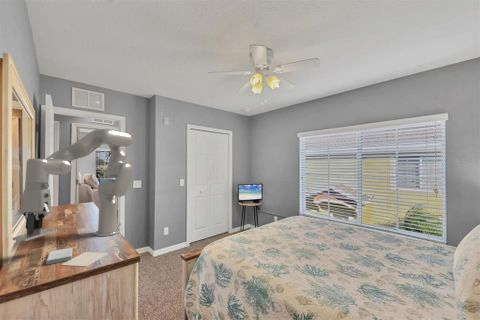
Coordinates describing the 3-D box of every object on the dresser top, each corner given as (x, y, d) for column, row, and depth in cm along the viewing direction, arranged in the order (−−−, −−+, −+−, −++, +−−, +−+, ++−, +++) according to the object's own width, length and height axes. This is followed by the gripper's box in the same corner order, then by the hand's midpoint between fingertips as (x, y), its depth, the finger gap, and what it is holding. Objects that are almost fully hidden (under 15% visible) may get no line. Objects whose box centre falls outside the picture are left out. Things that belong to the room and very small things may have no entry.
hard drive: (71, 256, 92) (72, 247, 102) (46, 260, 87) (49, 250, 97) (71, 260, 92) (72, 250, 102) (45, 265, 87) (49, 254, 97)
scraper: (12, 240, 89) (14, 217, 89) (45, 230, 103) (46, 211, 103) (25, 240, 88) (27, 218, 89) (57, 231, 102) (58, 211, 102)
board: (85, 252, 101) (86, 251, 101) (108, 253, 100) (108, 253, 100) (60, 265, 88) (60, 264, 88) (86, 266, 87) (86, 266, 87)
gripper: (61, 186, 100) (58, 227, 99) (28, 185, 101) (26, 225, 100) (45, 187, 92) (42, 231, 91) (10, 186, 93) (7, 229, 93)
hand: (34, 227), depth 96 cm, fingers closed on scraper, 3 cm apart
